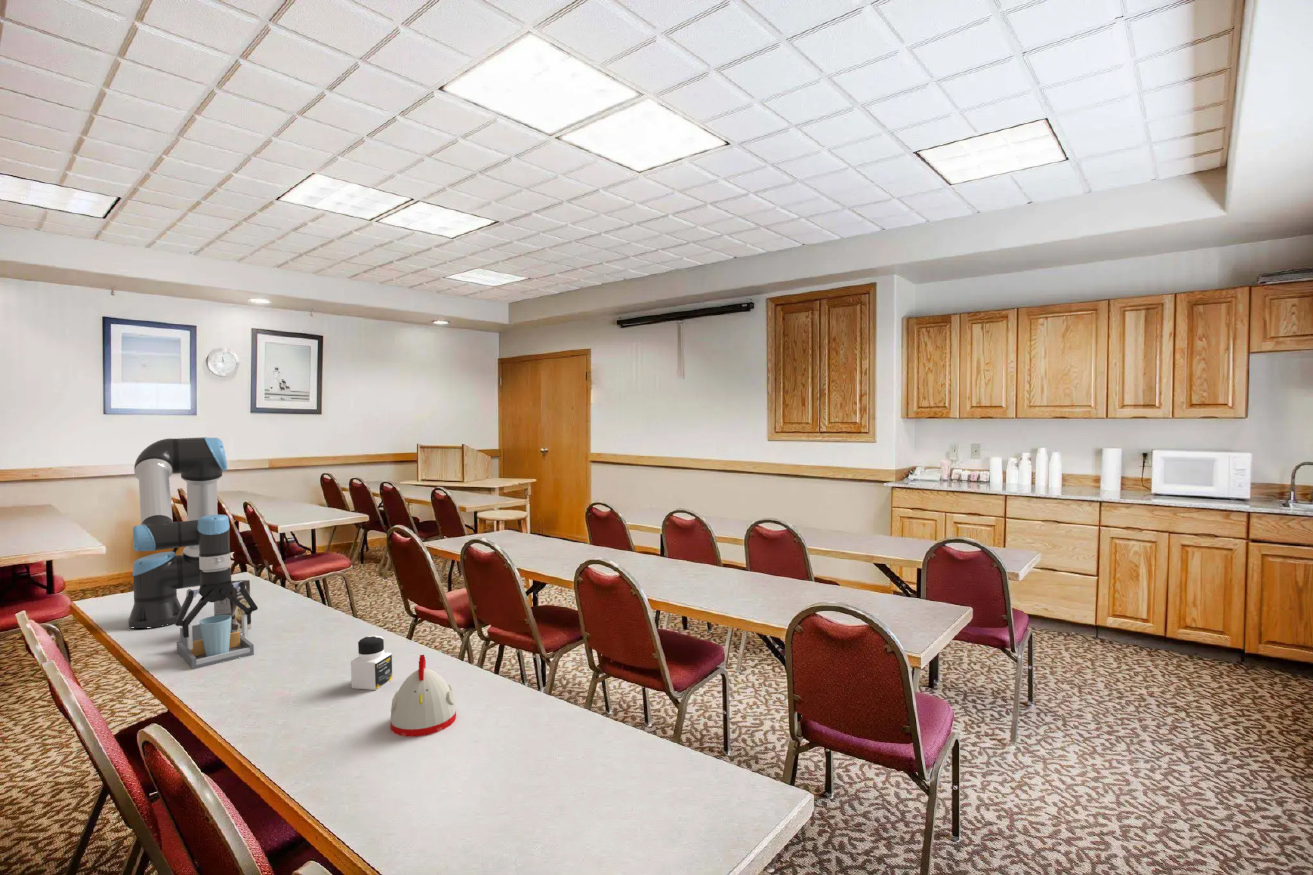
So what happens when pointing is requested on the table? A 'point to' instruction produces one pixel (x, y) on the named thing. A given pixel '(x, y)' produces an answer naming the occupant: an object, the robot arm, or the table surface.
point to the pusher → (199, 646)
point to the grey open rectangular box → (201, 660)
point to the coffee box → (233, 607)
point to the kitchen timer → (422, 704)
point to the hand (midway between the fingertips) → (218, 641)
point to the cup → (216, 634)
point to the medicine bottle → (371, 664)
